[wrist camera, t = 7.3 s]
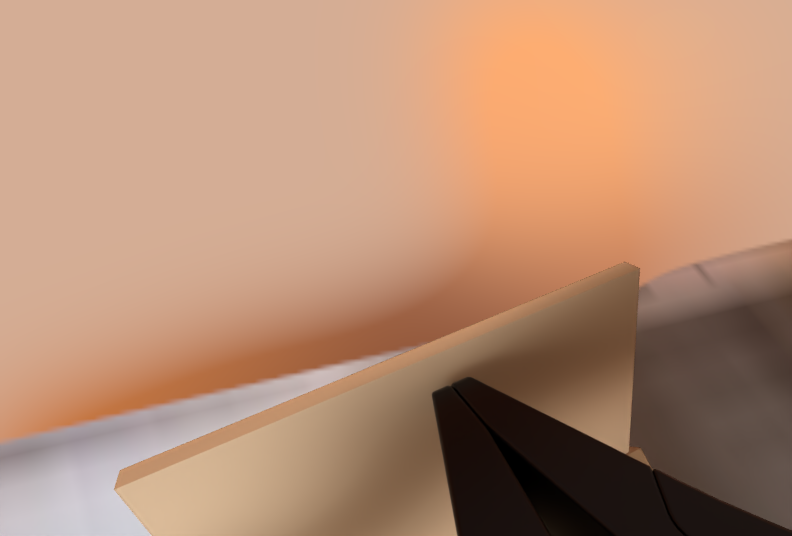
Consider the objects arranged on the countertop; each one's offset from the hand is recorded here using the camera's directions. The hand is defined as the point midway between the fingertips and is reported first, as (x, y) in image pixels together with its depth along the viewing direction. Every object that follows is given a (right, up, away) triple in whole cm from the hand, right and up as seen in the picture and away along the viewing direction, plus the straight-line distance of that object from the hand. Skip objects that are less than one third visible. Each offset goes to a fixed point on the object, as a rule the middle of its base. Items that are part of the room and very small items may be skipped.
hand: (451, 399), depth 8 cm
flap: (0, -2, +1) cm, 2 cm away
